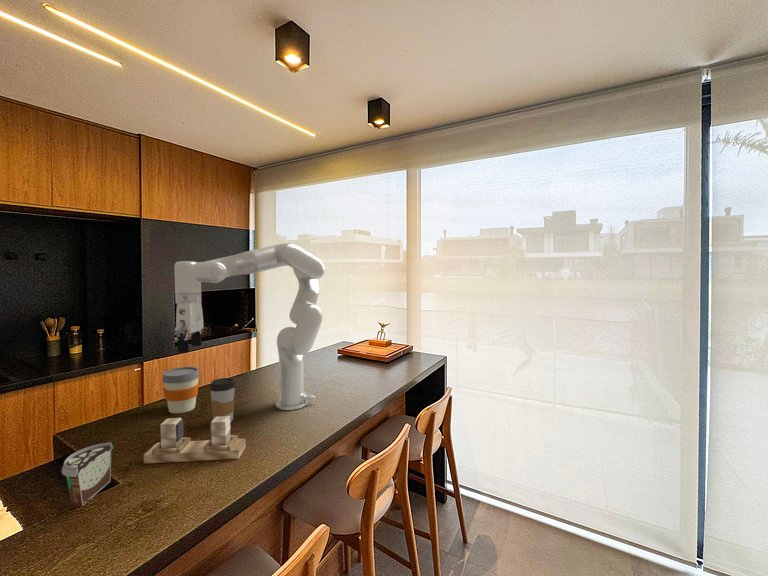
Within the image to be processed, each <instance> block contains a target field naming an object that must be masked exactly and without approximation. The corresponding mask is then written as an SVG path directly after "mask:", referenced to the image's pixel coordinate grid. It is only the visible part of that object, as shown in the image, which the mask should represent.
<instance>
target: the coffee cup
mask: <svg viewBox="0 0 768 576" xmlns="http://www.w3.org/2000/svg"><path fill="white" fill-rule="evenodd" d="M235 383H236V381H234V379H233V378H231V377H222V378H217V379H214V380H212V381H210V386H209V390H210V391H209V392H210V401H211V402H210V403H211V404H210V405H211V411H212V412H211V413H212V420H213V419H215V417H217V416H230V424H231V423H232V422H233V420H234V412H235V387H236V384H235Z"/></svg>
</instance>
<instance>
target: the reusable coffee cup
mask: <svg viewBox="0 0 768 576" xmlns="http://www.w3.org/2000/svg"><path fill="white" fill-rule="evenodd" d="M199 377H200V372H199V368H198V367H194V366H183V367H176V368H171V369H168V370H165V371H163V373H162V383H163V386H164V387H163V394H164V398H165V401H166V402H167V408H168V412H169V413H171V414H182V413H186V412H190V411H192V410H194V409H195V407H196V402H197V396H198V394H199V393H198V392H199V383H200V382H199Z"/></svg>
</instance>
